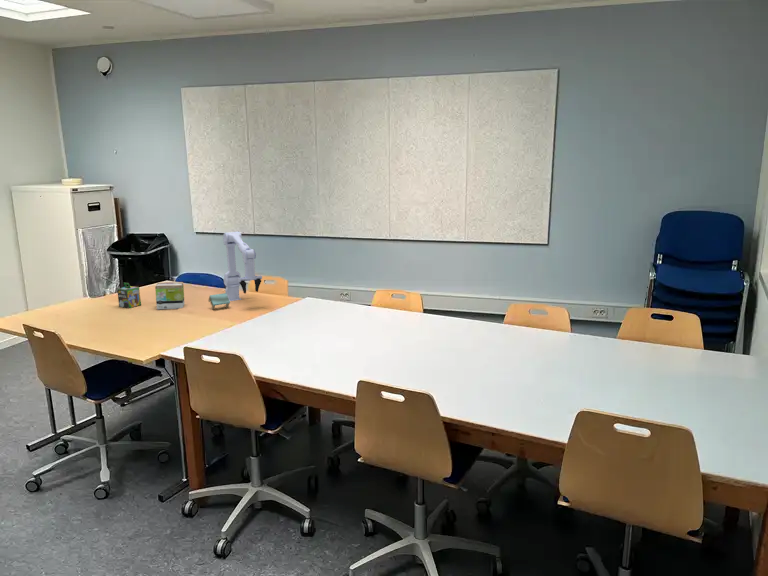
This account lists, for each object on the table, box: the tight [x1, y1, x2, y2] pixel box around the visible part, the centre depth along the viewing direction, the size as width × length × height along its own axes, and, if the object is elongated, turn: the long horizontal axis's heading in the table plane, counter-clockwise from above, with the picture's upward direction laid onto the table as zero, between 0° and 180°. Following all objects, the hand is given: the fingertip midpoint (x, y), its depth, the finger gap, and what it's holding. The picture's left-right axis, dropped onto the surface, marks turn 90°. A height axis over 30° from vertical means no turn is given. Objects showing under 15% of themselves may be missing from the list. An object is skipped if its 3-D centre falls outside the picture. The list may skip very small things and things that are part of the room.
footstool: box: [208, 292, 231, 311], centre depth 336 cm, size 7×10×5 cm
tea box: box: [154, 281, 185, 310], centre depth 339 cm, size 15×10×15 cm, turn 104°
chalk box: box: [116, 282, 142, 309], centre depth 341 cm, size 9×9×15 cm
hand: (250, 292), depth 336 cm, fingers open, 7 cm apart
